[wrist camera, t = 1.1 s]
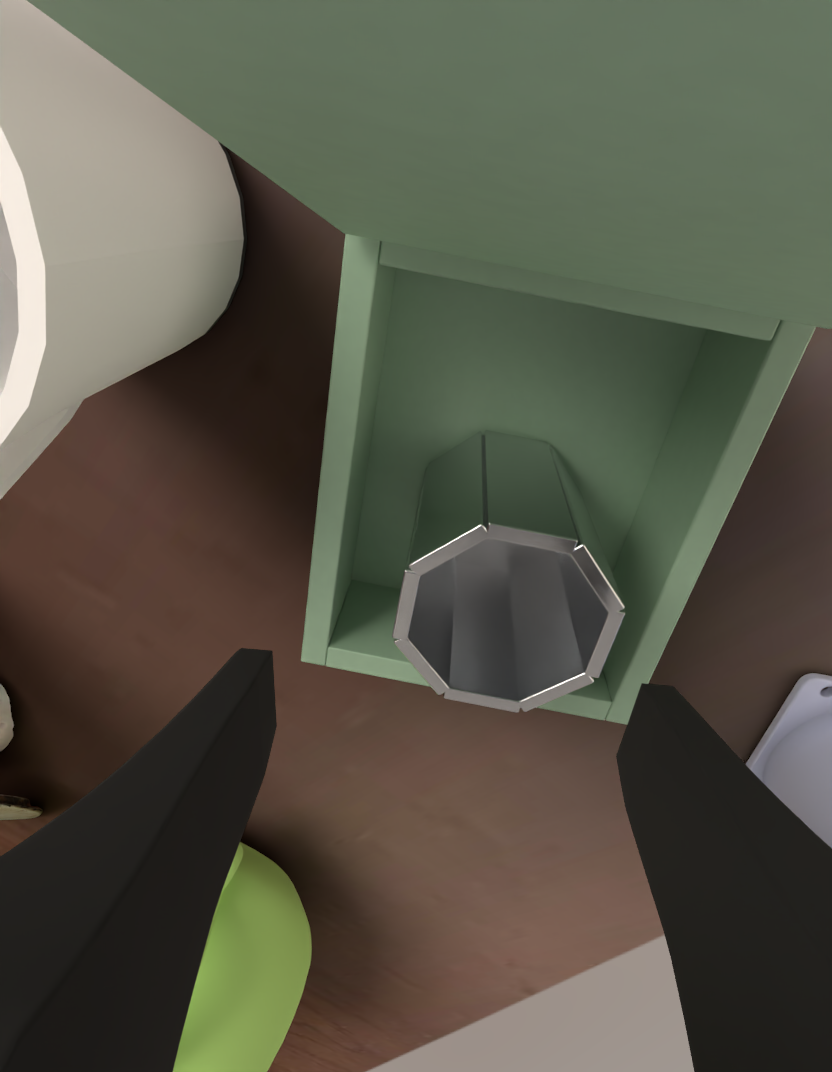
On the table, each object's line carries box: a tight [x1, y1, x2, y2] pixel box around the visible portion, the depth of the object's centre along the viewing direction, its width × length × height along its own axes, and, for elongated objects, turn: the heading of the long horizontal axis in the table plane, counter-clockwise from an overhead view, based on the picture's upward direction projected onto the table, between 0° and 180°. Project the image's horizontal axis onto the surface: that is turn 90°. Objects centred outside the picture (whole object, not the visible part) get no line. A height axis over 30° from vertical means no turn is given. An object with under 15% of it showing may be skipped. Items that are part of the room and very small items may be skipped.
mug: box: [0, 0, 247, 499], centre depth 14 cm, size 11×9×10 cm
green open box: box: [301, 234, 816, 725], centre depth 18 cm, size 13×11×5 cm
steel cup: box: [392, 430, 625, 713], centre depth 17 cm, size 5×5×7 cm
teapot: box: [173, 842, 312, 1072], centre depth 28 cm, size 22×15×13 cm
